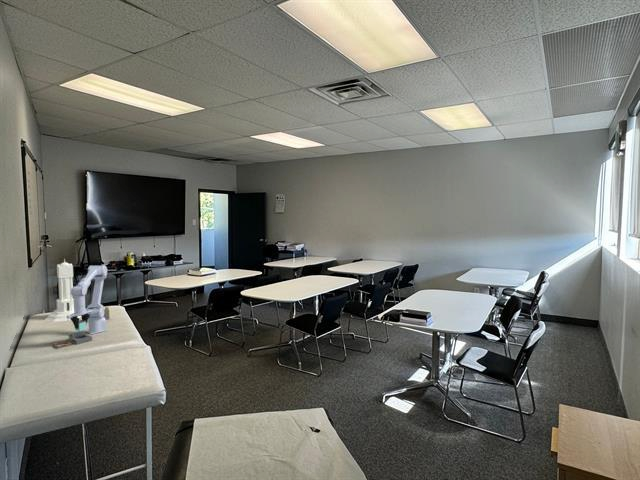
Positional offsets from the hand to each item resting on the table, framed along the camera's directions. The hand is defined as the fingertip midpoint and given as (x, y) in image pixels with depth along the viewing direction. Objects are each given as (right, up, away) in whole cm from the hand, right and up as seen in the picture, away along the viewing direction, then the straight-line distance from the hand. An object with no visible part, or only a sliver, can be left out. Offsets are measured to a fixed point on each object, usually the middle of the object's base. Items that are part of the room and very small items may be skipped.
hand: (80, 327), depth 220 cm
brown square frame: (-6, -9, -7) cm, 13 cm away
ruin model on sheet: (-15, -6, +44) cm, 47 cm away
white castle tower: (-46, -5, +54) cm, 71 cm away
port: (-1, -8, +1) cm, 9 cm away
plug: (0, -1, 0) cm, 1 cm away
